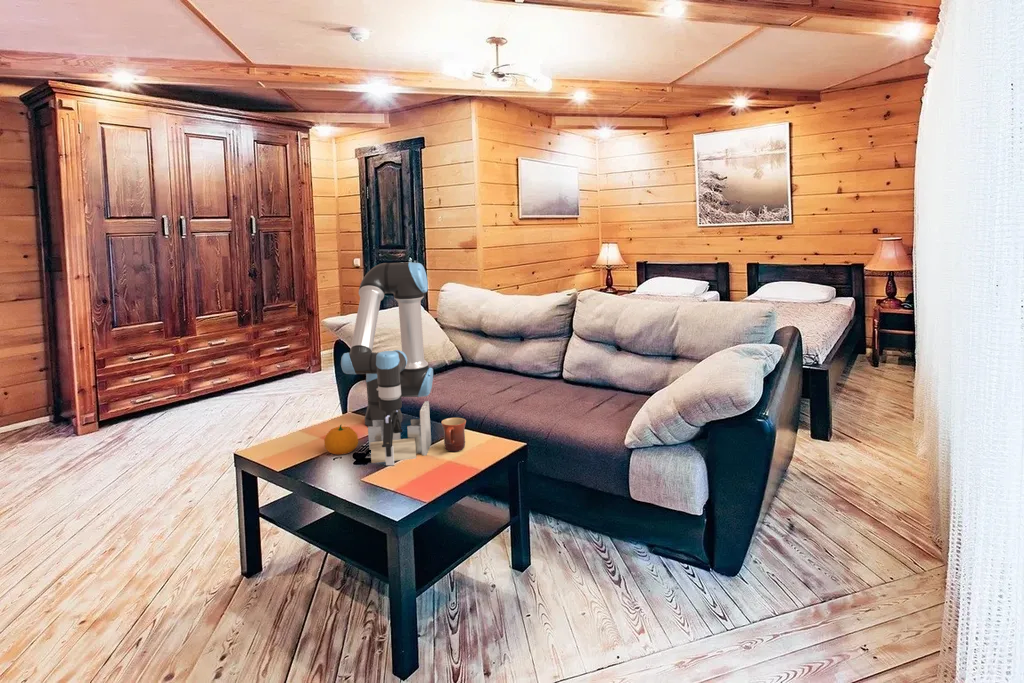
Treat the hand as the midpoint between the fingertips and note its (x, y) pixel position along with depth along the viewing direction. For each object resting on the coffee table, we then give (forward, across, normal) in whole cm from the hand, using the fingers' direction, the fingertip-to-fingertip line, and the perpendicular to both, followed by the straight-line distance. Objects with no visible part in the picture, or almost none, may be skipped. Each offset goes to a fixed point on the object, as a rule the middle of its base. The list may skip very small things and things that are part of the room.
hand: (393, 457), depth 211 cm
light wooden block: (0, 0, 0) cm, 0 cm away
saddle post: (0, -8, -7) cm, 11 cm away
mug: (0, -6, +20) cm, 21 cm away
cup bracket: (0, -8, +7) cm, 11 cm away
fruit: (0, -8, -20) cm, 22 cm away
